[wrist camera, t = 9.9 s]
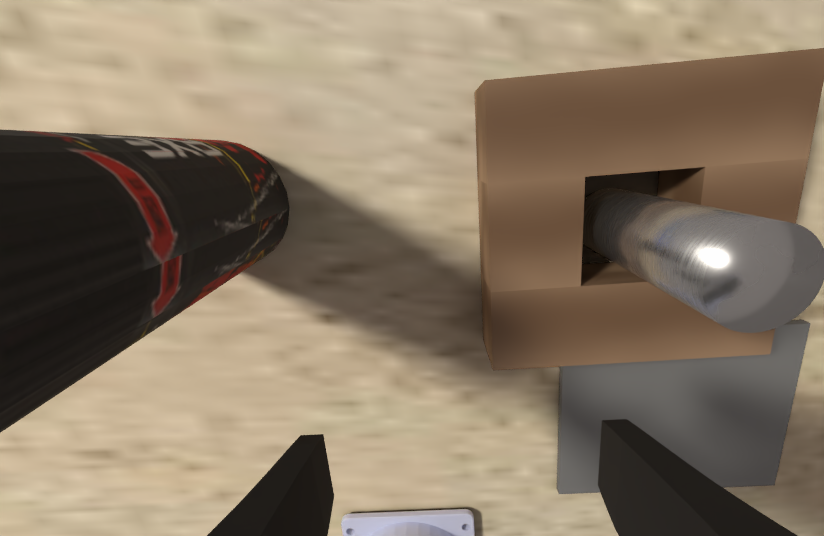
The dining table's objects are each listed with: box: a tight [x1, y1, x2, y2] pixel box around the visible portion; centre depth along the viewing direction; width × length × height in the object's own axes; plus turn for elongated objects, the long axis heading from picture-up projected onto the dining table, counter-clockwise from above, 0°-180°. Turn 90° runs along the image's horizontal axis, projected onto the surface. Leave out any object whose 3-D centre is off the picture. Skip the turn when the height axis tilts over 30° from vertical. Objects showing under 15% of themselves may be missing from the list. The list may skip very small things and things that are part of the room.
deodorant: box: [0, 130, 289, 432], centre depth 12 cm, size 6×6×15 cm
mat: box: [557, 320, 810, 494], centre depth 21 cm, size 10×12×1 cm
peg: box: [583, 188, 824, 333], centre depth 14 cm, size 3×3×9 cm
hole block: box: [475, 48, 824, 370], centre depth 17 cm, size 12×12×3 cm
